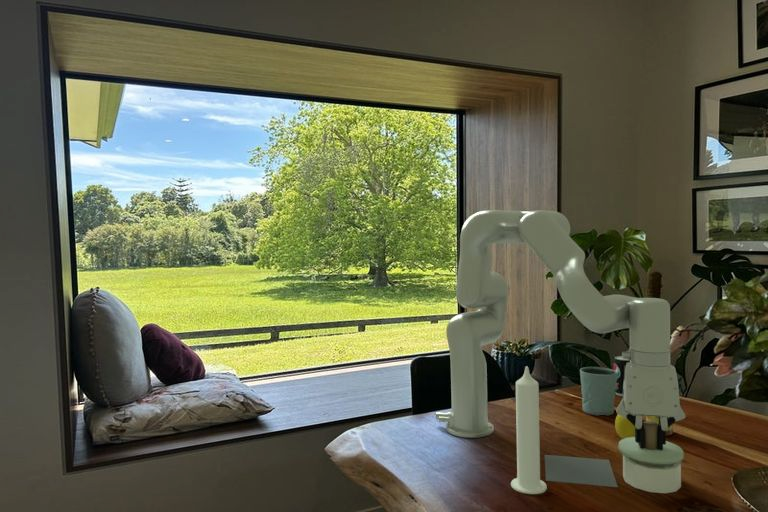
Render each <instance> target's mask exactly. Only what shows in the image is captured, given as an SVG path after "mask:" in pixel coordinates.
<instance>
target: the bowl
mask: <svg viewBox="0 0 768 512" xmlns="http://www.w3.org/2000/svg"><path fill="white" fill-rule="evenodd" d="M622 477H623V480H624V482H625V483H626V484H628V485H630V486H631V487H633V488H635V489H639V490H642V491H644V492H647V493H648V492H649V493H658V494H669V493H676V492H677V491H678V490H680V489H681V488H682V464H681V461H680V462H677V463H673V464H653V463H647V462H642V461H638V460H635V459H632V458H629V457H627V456H625V455H624V454H622Z"/></svg>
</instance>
